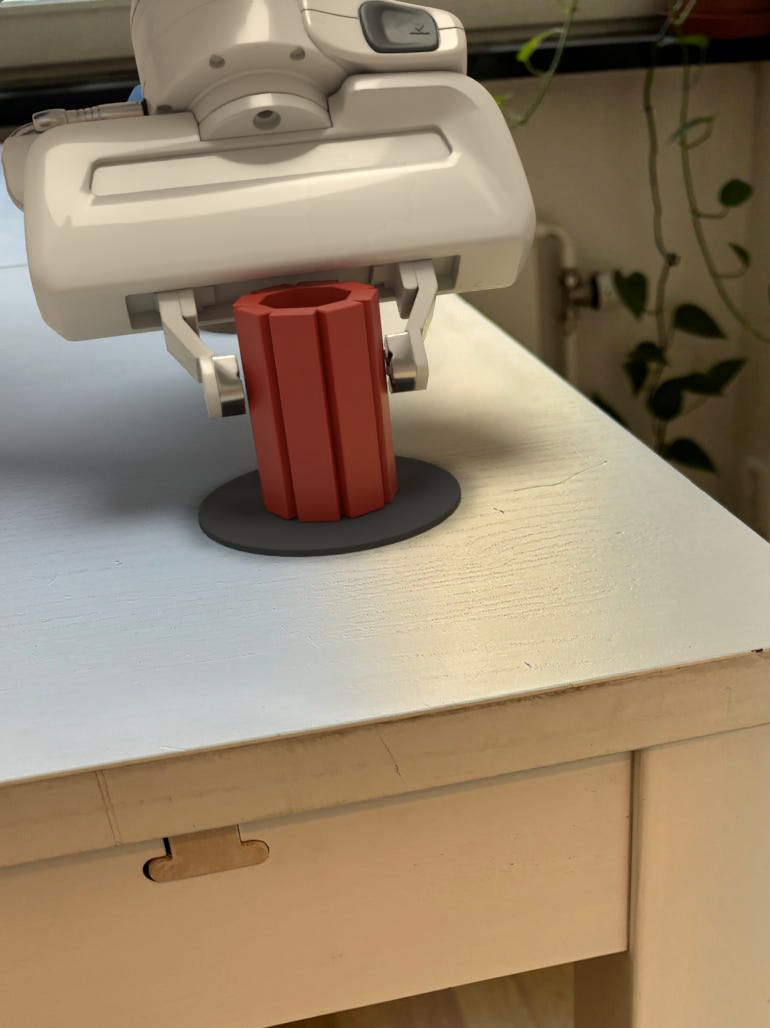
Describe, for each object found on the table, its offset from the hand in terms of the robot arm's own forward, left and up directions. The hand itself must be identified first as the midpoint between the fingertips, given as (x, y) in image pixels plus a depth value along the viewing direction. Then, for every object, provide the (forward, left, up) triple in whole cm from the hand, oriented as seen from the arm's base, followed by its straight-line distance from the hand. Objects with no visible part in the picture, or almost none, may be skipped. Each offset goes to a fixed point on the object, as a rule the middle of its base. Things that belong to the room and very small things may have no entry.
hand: (319, 397), depth 53 cm
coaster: (0, +1, -5) cm, 5 cm away
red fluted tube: (0, +1, -4) cm, 4 cm away
